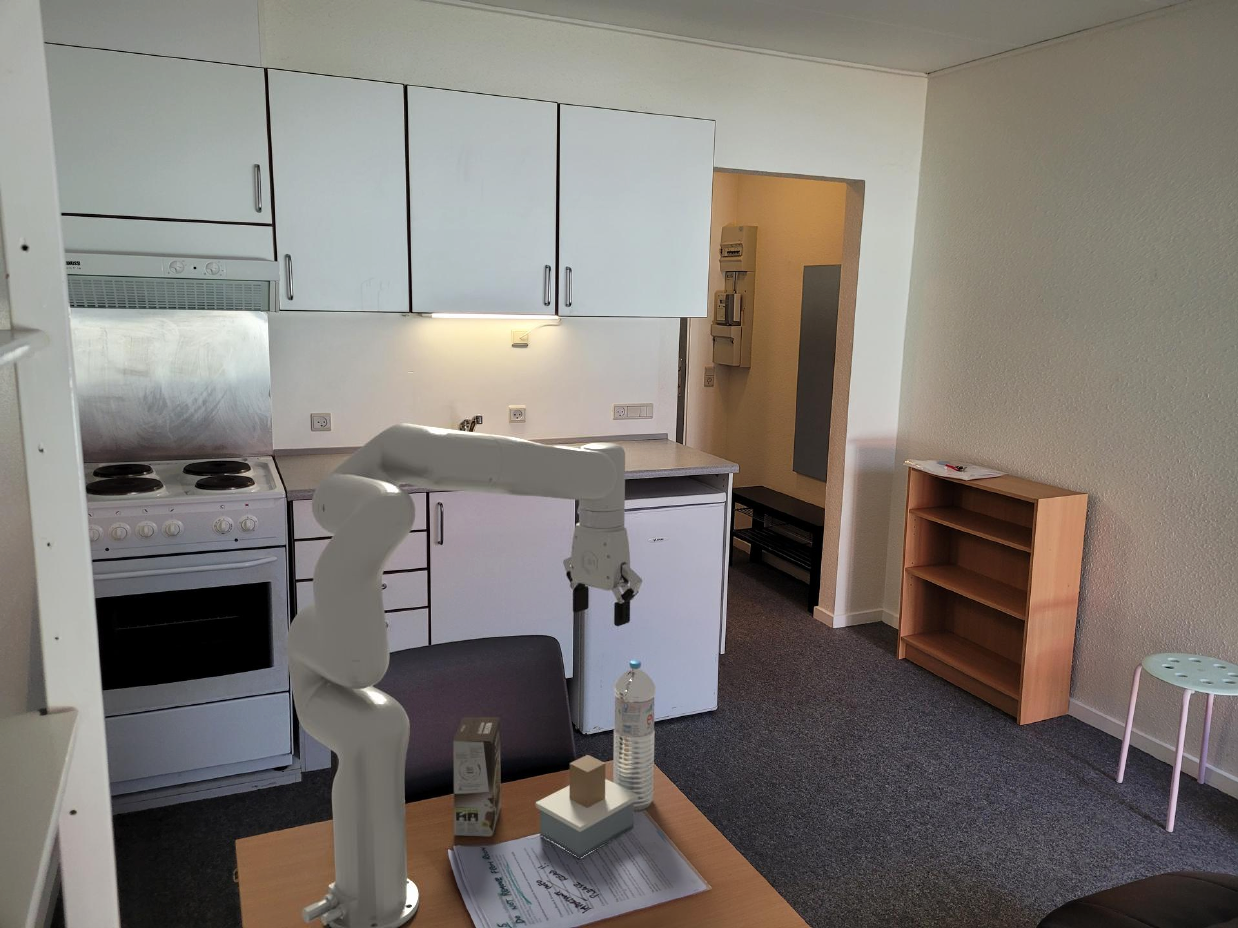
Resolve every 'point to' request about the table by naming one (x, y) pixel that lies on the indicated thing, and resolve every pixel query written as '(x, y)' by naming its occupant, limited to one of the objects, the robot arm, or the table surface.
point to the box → (587, 831)
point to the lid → (586, 796)
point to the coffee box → (477, 776)
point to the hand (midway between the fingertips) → (600, 617)
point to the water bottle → (634, 734)
